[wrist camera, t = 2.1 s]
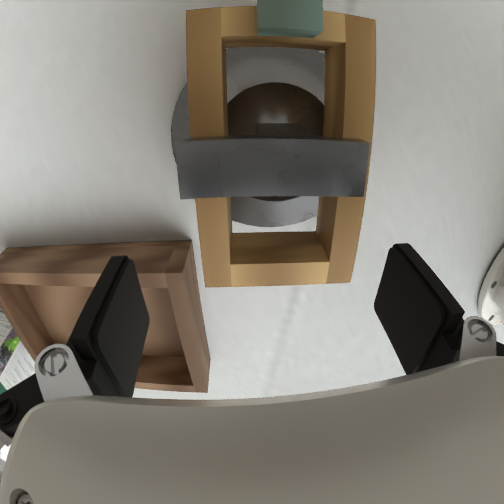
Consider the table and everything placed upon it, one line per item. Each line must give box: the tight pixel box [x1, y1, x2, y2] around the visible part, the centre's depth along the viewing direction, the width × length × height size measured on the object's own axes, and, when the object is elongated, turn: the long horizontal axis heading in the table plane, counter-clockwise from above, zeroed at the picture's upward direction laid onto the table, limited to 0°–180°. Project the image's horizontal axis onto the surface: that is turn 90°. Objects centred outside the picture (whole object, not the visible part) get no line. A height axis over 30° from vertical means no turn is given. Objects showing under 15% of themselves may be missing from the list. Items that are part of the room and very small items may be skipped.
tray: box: [0, 240, 210, 393], centre depth 20 cm, size 17×12×4 cm
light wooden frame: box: [186, 0, 376, 287], centre depth 11 cm, size 7×12×4 cm, turn 0°
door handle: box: [171, 47, 370, 227], centre depth 13 cm, size 11×11×7 cm
